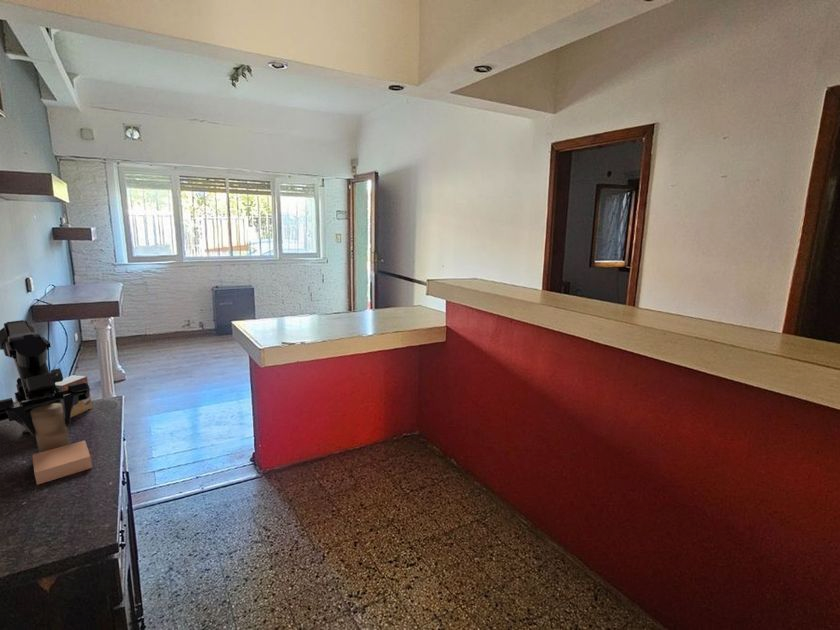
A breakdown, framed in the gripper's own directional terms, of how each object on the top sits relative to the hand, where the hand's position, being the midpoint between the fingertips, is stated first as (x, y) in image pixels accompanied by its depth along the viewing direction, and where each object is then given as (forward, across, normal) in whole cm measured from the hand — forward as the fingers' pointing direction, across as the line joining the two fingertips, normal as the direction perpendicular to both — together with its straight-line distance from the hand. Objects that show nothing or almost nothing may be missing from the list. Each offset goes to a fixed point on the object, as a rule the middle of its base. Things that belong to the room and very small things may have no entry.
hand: (51, 430), depth 107 cm
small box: (-13, +8, +23) cm, 28 cm away
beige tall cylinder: (+4, 0, +6) cm, 7 cm away
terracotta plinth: (+10, 0, -1) cm, 10 cm away
